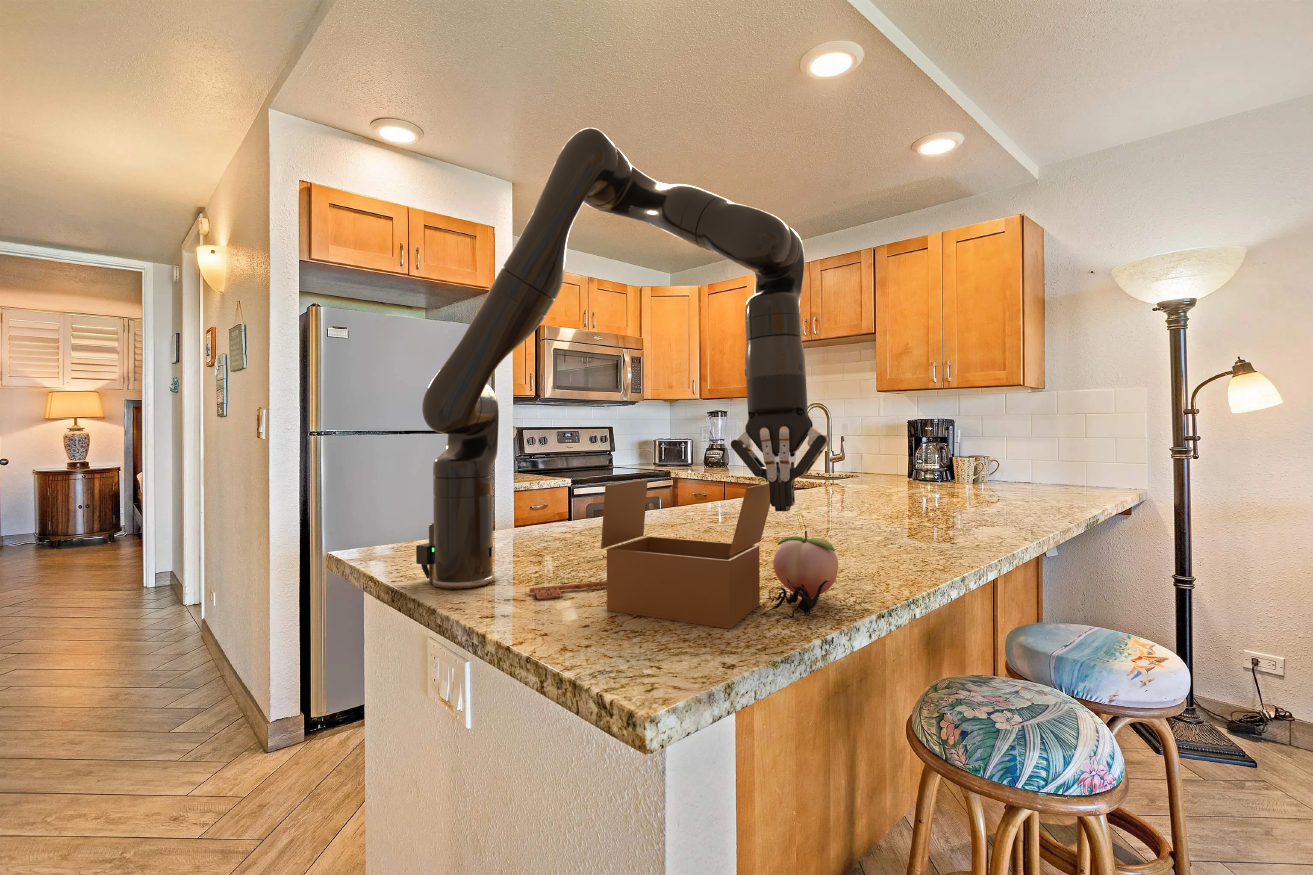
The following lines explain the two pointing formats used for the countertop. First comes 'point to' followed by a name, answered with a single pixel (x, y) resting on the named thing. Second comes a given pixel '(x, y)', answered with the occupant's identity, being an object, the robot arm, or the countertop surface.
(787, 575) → the decorative fruit
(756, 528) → the flap
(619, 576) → the carton
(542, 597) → the key
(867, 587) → the countertop surface
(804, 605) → the creature
